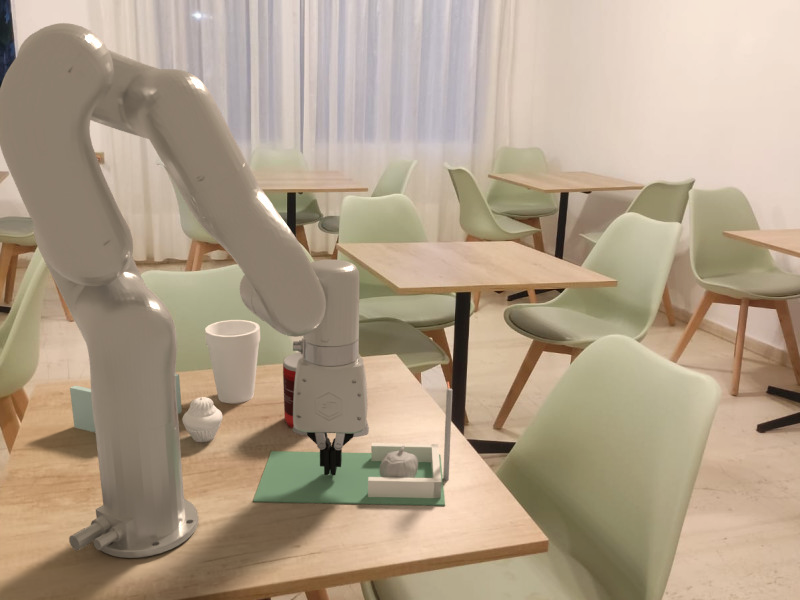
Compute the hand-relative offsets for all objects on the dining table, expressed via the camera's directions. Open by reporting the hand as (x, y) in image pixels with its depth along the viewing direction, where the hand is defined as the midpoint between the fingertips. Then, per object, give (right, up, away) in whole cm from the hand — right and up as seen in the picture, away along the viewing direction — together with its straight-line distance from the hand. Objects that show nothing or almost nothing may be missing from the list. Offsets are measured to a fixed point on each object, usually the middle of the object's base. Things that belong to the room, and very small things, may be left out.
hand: (330, 470), depth 106 cm
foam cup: (-20, +7, +27) cm, 34 cm away
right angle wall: (-35, +4, +18) cm, 40 cm away
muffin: (-21, +2, +12) cm, 24 cm away
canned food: (-6, +4, +18) cm, 20 cm away
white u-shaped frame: (+11, -1, 0) cm, 11 cm away
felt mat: (+3, -1, +1) cm, 3 cm away
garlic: (+10, -2, -1) cm, 10 cm away
